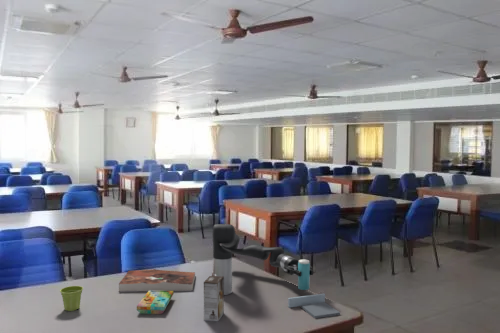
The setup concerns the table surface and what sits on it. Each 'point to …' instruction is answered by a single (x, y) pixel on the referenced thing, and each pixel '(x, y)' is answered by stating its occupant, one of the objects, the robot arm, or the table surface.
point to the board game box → (157, 281)
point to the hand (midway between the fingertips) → (306, 273)
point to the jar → (304, 274)
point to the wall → (306, 300)
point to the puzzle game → (154, 302)
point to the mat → (320, 310)
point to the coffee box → (213, 298)
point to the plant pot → (71, 297)
